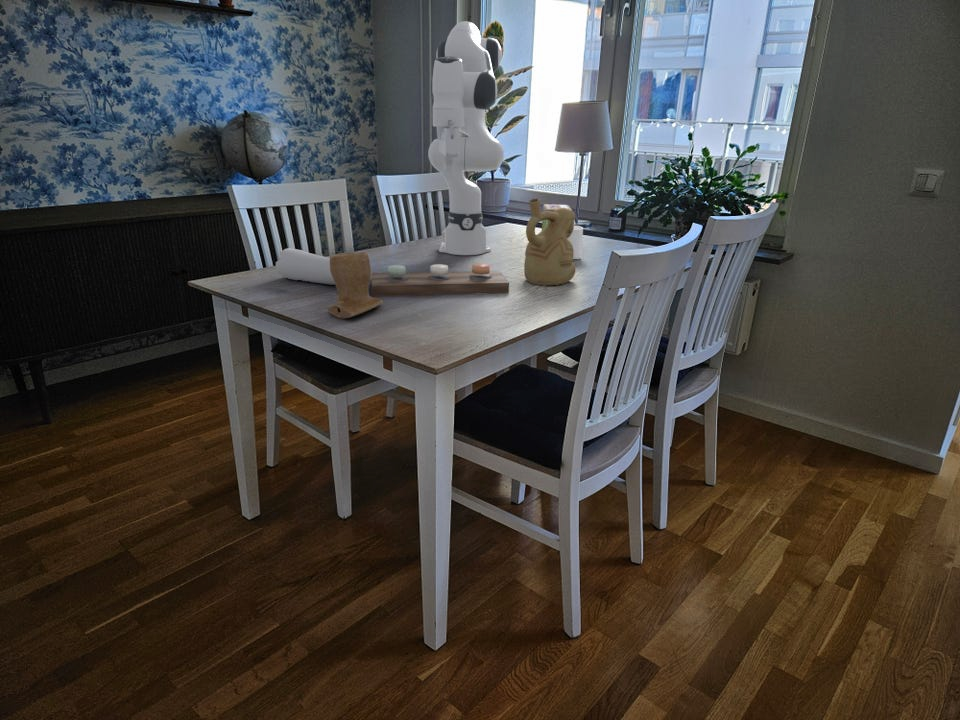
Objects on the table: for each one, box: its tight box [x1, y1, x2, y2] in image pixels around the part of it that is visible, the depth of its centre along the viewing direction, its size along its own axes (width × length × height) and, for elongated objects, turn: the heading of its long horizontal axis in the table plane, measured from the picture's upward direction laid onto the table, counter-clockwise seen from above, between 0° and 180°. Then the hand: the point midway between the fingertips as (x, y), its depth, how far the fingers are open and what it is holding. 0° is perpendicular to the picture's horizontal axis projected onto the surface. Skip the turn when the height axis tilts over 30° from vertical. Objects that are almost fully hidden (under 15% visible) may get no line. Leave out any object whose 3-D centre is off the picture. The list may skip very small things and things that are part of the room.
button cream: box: [430, 263, 449, 275], centre depth 178 cm, size 5×5×2 cm
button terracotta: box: [471, 263, 491, 275], centre depth 180 cm, size 5×5×2 cm
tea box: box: [541, 203, 573, 231], centre depth 237 cm, size 15×10×15 cm, turn 178°
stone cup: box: [326, 251, 384, 319], centre depth 155 cm, size 15×12×15 cm
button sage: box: [387, 264, 407, 276], centre depth 176 cm, size 5×5×2 cm
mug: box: [567, 225, 584, 260], centre depth 216 cm, size 9×12×11 cm
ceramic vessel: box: [523, 198, 577, 286], centre depth 185 cm, size 17×20×25 cm
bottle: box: [275, 247, 372, 286], centre depth 180 cm, size 9×9×30 cm
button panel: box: [371, 270, 510, 297], centre depth 179 cm, size 14×38×3 cm, turn 99°
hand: (448, 171), depth 181 cm, fingers closed
